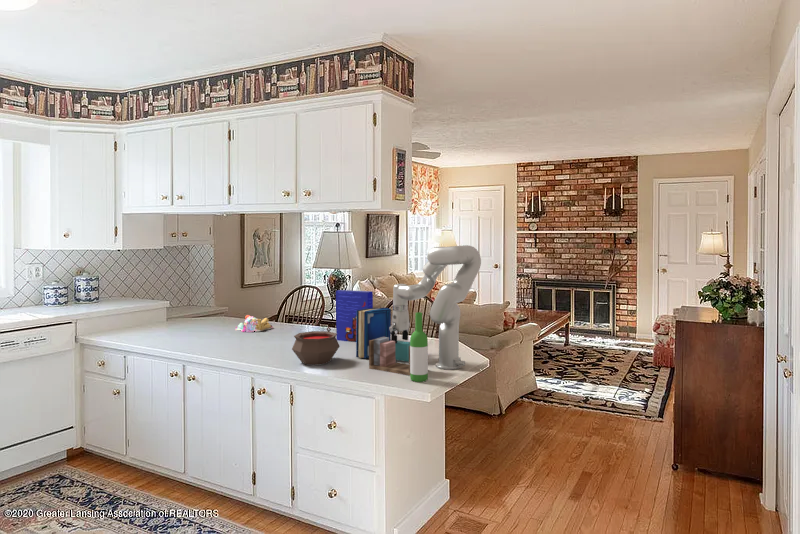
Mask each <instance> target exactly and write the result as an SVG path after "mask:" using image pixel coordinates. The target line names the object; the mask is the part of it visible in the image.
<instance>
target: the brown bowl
mask: <svg viewBox="0 0 800 534" xmlns="http://www.w3.org/2000/svg"><path fill="white" fill-rule="evenodd" d="M331 330H332V329H331V328H330V326H327V328H326V330H325V331H324V330H320V331H317V330H315V331H314V330H313V331H304V332H298V333H296V334H295V335H293V338H295V341H294V343H293V345H292V348H291V350H292V352H293V353H294V354H295V355H296V357H297V358H298V360H300V362H301V363H302V364H303V365H304V364H305V365H307V366H310V365H311V366H319V365H320V366H321V365H326V364H328V363H330V362H331V360H332V359H333V357H334V356H335V354H336V353H337V351H338V349H339V348H340V347H341V346H340V344H339V341H338V340H337V334H336V332H332V331H331Z"/></svg>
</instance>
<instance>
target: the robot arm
mask: <svg viewBox="0 0 800 534" xmlns="http://www.w3.org/2000/svg"><path fill="white" fill-rule="evenodd" d="M426 255H427V256H426V257H427V262H426V263H425V264H424V265H423V267H422V272H423V274H424V275H423V277H422V279H421V280H420V281H419V282H418V283H416V284H410V285H408V284H405V283H396V284H394V285H393V288H392V289H393V291H392V292H393V294H392V296H393V297H392V299H393V300H392V313H391V326H390V327H389V330H390V333H391V341H395V343H397V341H398V332H402V337H401V339H402V340H403V341H408V340H409V332H410V326H411V322H410V314H409V309H408V308H409V307H408V306H409V301H416V300H420V299H423V298H425V297H426V296H428V294H429V293H430V292H431V291H432V289H434V287H435V285H436V282H437V278H438V277H439V276H440V275H441V274H442V272H443V271H444V269H446V267H448V266H449V265H450V266H453V265H454V266H456V265H462V266H461V267H460V268H459V270H458V271H457V273H456V276H455V277H454V279H453V281H452V282H451V283H447V284H444V285H442V287H440V288H439V290H438V293H437V295H436V297H435V299H434V301H433V303H432V304H431V307H430V311H429V316H430V319H431V321H432V322H433V323H434V324H437V325H439V328H438V362H436V363H435V367H436V368H437V369H439V370H440V369H441V370H458V369H460V368H462V367H463V366H465V365H466V361H465V360H461V356H460V355H459V353H460V351H459V350H460V349H459V348H460V347H459V341H460V340H459V334H460V332H459V331H460V329H459V327H460V319H461V308H460V306H459V304H458V303H461V302H463V301H465V299H466V298H467V296H468V294H469V292H470V290H471V288H472V285H473V284H474V281H475V279H476V277H477V276H478V273H479V271H480V269H481V265H482V259H481V258H482V257H481V254H480V252H479V251H478V250H477V248H476V247H474V246H473V245H467V244H466V245H452V246H436V247H435V246H434V247H432V248H431V249H429V251H428V252H427V254H426Z"/></svg>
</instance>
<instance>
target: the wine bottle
mask: <svg viewBox="0 0 800 534" xmlns="http://www.w3.org/2000/svg"><path fill="white" fill-rule="evenodd" d="M414 322H415V324H414V325H415V330H414V331H413V332H412V334H411V335H410V337H409V338H410V339H409V340H410V341H409V342H410V375H409V376H410V380H411V381H412V382H414V381H415V383H423V381H424V382H426V381H427V380H428V376H429V364H428V363H429V361H428V360H429V359H428V357H429V356H428V355H429V354H428V353H429V350H428V349H429V345H428V344H429V342H428V336H427V334H426V333H425V332H424V331H423V312H420V311H417V312H415V321H414Z"/></svg>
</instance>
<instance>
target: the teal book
mask: <svg viewBox="0 0 800 534" xmlns="http://www.w3.org/2000/svg"><path fill="white" fill-rule="evenodd" d="M409 346H410V341H405V340H403V341H402V340H397V343H395V357H396V361H402V362H407V363H409Z"/></svg>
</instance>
